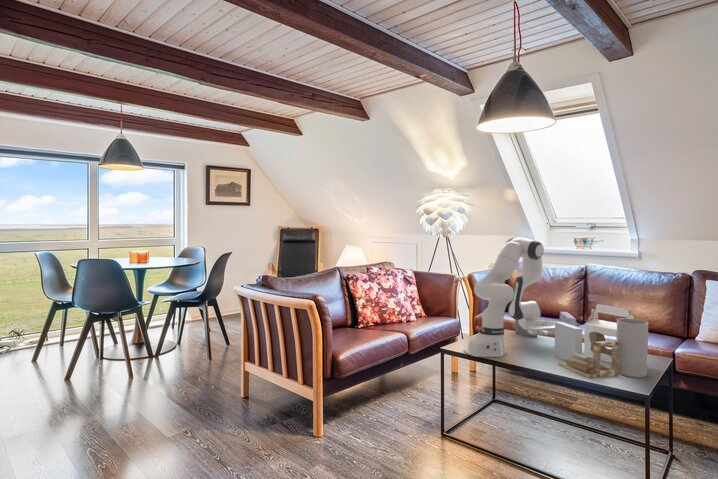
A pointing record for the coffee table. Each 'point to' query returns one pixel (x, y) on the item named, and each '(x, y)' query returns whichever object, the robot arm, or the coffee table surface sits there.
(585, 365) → the offcut stack
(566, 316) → the cake pan box
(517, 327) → the hip flask
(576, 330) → the tall board
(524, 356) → the coffee table surface
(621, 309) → the gable box
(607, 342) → the rack
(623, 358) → the cylinder vase
